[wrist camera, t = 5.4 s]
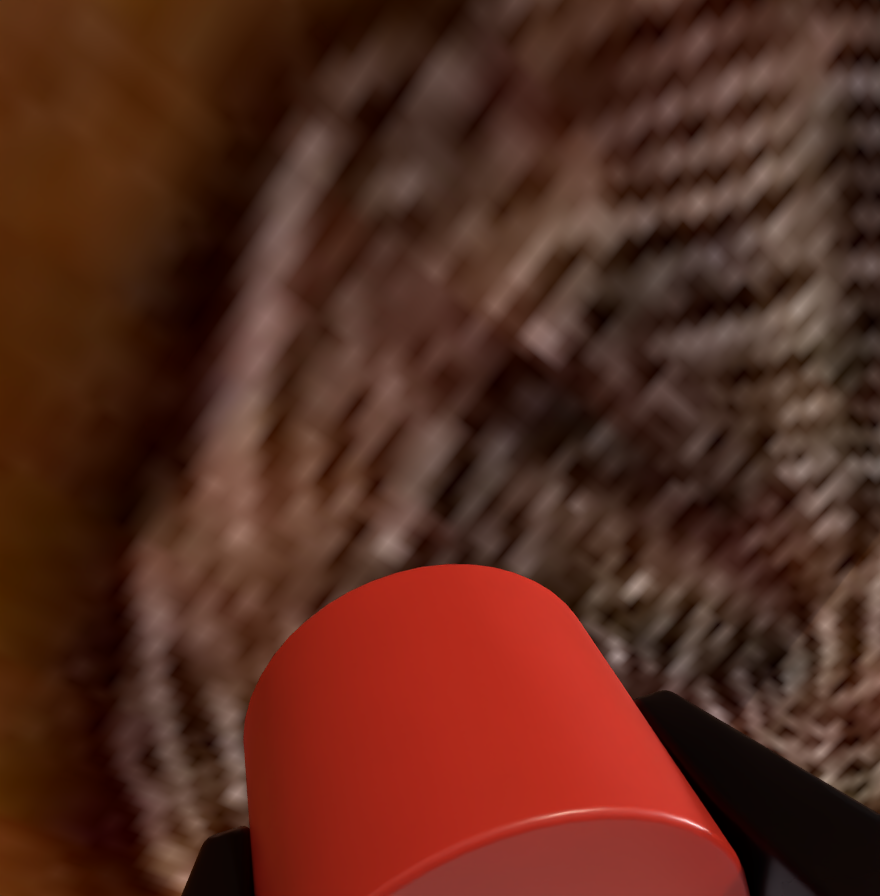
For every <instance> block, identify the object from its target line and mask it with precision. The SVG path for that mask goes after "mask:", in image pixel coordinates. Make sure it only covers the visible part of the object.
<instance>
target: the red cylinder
mask: <svg viewBox="0 0 880 896" xmlns="http://www.w3.org/2000/svg"><path fill="white" fill-rule="evenodd" d="M243 738H244V753H245V767H246V781H247V796H248V810H249V824H250V839H251V853H252V867H253V882H254V896H750V892H749V887H748V883H747V879H746V875H745V871H744V868H743V866H742V864H741V862H740V860H739V858H738V856H737V855H736V853H735V851H734V850H733V848H732V847H731V845H730V844H729V842H728V841H727V839H726V838H725V836H724V835H723V833H722V832H721V830H720V829H719V827H718V826H717V824H716V823H715V821H714V820H713V818H712V817H711V815H710V814H709V812H708V811H707V810H706V808H705V807H704V805H703V804H702V802H701V801H700V799H699V798H698V796H697V795H696V793H695V792H694V790H693V789H692V787H691V786H690V784H689V783H688V781H687V780H686V778H685V777H684V775H683V774H682V772H681V771H680V769H679V768H678V767H677V765H676V764H675V762H674V761H673V759H672V758H671V756H670V755H669V753H668V752H667V750H666V749H665V747H664V746H663V744H662V743H661V741H660V740H659V738H658V737H657V735H656V734H655V732H654V731H653V729H652V728H651V726H650V725H649V723H648V722H647V721H646V719H645V718H644V716H643V715H642V713H641V712H640V710H639V709H638V707H637V706H636V704H635V703H634V701H633V700H632V698H631V697H630V695H629V694H628V692H627V691H626V689H625V688H624V686H623V685H622V683H621V682H620V680H619V679H618V678H617V676H616V675H615V673H614V672H613V670H612V669H611V667H610V666H609V664H608V663H607V661H606V660H605V658H604V657H603V655H602V654H601V652H600V651H599V649H598V648H597V646H596V645H595V643H594V642H593V640H592V639H591V637H590V636H589V635H588V633H587V632H586V630H585V629H584V627H583V626H582V624H581V623H580V621H579V620H578V618H577V617H576V616H575V614H574V613H573V612H572V611H571V610H570V608H569V607H568V606H567V605H566V604H565V603H564V602H563V601H562V600H561V599H560V598H559V597H557V596H556V595H555V594H554V593H553V592H551V591H550V590H548V589H547V588H545V587H543V586H542V585H540V584H538V583H537V582H535V581H533V580H530V579H528V578H525V577H523V576H521V575H518V574H516V573H513V572H510V571H506V570H502V569H498V568H494V567H488V566H480V565H472V564H443V565H434V566H425V567H419V568H415V569H410V570H406V571H401V572H397V573H394V574H391V575H388V576H385V577H382V578H379V579H376V580H373V581H371V582H369V583H367V584H365V585H362V586H360V587H358V588H356V589H354V590H352V591H349V592H348V593H346V594H344V595H343V596H341V597H339V598H338V599H336V600H334V601H333V602H331V603H329V604H328V605H326V606H325V607H323V608H322V609H321V610H319V611H318V612H317V613H315V614H314V615H313V616H312V617H310V618H309V619H308V620H306V621H305V622H304V623H303V624H302V625H301V626H300V627H299V628H298V629H297V630H296V631H295V632H294V633H293V634H292V635H291V636H289V638H288V639H287V640H286V641H285V642H284V644H283V645H282V646H281V647H280V648H279V650H278V651H277V652H276V653H275V654H274V656H273V657H272V659H271V661H270V662H269V664H268V665H267V667H266V668H265V670H264V672H263V673H262V675H261V677H260V679H259V681H258V683H257V685H256V688H255V690H254V692H253V694H252V696H251V699H250V703H249V707H248V710H247V714H246V717H245V727H244V736H243Z"/></svg>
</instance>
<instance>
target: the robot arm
mask: <svg viewBox="0 0 880 896" xmlns="http://www.w3.org/2000/svg"><path fill="white" fill-rule="evenodd" d="M633 701H634V703H635V704H636V706H637V707H638V709H639V710H640V712H641V713H642V715H643V716H644V718H645V719H646V721H647V722H648V723H649V725H650V726H651V728H652V729H653V731H654V732H655V734H656V735H657V737H658V738H659V740H660V741H661V743H662V744H663V746H664V747H665V749H666V750H667V752H668V753H669V755H670V756H671V758H672V759H673V761H674V762H675V764H676V765H677V767H678V768H679V769H680V771H681V772H682V774H683V775H684V777H685V778H686V780H687V781H688V783H689V784H690V786H691V787H692V789H693V790H694V792H695V793H696V795H697V796H698V798H699V799H700V801H701V802H702V804H703V805H704V807H705V808H706V810H707V811H708V812H709V814H710V815H711V817H712V818H713V820H714V821H715V823H716V824H717V826H718V827H719V829H720V830H721V832H722V833H723V835H724V836H725V838H726V839H727V841H728V842H729V844H730V845H731V847H732V848H733V850H734V851H735V853H736V855H737V856H738V858H739V860H740V862H741V864H742V866H743V868H744V871H745V875H746V879H747V883H748V887H749V892H750V896H880V814H878V813H876V812H874V811H873V810H871V809H869V808H868V807H866V806H864V805H863V804H861V803H859V802H858V801H856V800H854V799H853V798H851V797H849V796H847V795H846V794H844V793H842V792H841V791H839V790H837V789H836V788H834V787H832V786H831V785H829V784H827V783H825V782H824V781H822V780H820V779H819V778H817V777H815V776H814V775H812V774H810V773H809V772H807V771H805V770H804V769H802V768H800V767H798V766H797V765H795V764H793V763H792V762H790V761H788V760H787V759H785V758H783V757H782V756H780V755H778V754H776V753H775V752H773V751H771V750H770V749H768V748H766V747H765V746H763V745H761V744H760V743H758V742H756V741H755V740H753V739H751V738H749V737H748V736H746V735H744V734H743V733H741V732H739V731H738V730H736V729H734V728H733V727H731V726H729V725H727V724H726V723H724V722H722V721H721V720H719V719H717V718H716V717H714V716H712V715H711V714H709V713H707V712H706V711H704V710H702V709H700V708H699V707H697V706H695V705H694V704H692V703H690V702H689V701H687V700H685V699H684V698H682V697H680V696H678V695H677V694H675V693H673V692H670V691H667V690H662V691H658V692H655V693H652V694H649V695H645V696H642V697H639V698H636V699H635V700H633ZM181 896H254V882H253V867H252V853H251V839H250V829H249V828H248V827H246V826H240V827H237V828H234V829H231V830H228V831H225V832H221V833H218V834H215V835H213V836H211V837H209V838H208V839H207V840H206V841H205V842H204V843H203V845H202V847H201V850H200V852H199V854H198V857H197V859H196V862H195V864H194V866H193V869H192V871H191V874H190V876H189V878H188V881H187V883H186V886H185V888H184V890H183V893H182V895H181Z"/></svg>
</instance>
